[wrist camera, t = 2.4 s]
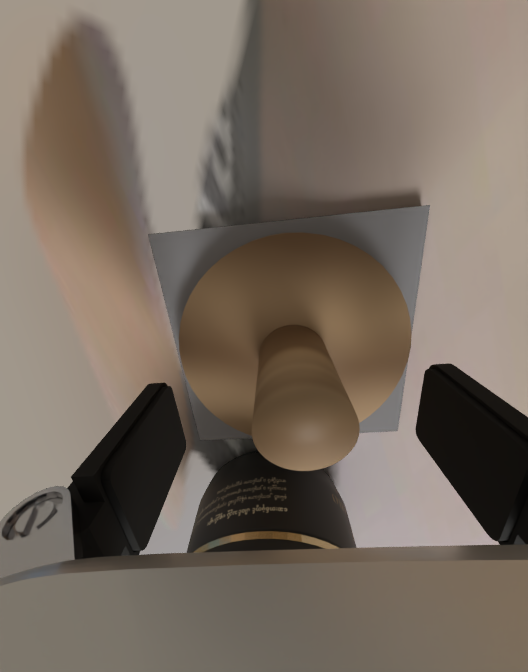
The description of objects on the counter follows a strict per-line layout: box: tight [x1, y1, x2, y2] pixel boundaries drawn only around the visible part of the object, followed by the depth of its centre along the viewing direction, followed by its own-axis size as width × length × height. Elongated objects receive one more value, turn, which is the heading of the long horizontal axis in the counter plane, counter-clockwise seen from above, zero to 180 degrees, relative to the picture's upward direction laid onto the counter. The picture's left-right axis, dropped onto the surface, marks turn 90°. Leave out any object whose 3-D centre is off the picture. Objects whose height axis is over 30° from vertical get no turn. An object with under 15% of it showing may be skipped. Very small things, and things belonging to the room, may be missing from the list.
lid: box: [179, 232, 411, 471], centre depth 10 cm, size 11×11×6 cm
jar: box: [187, 451, 356, 553], centre depth 15 cm, size 10×10×8 cm
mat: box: [148, 205, 430, 441], centre depth 13 cm, size 12×12×1 cm
